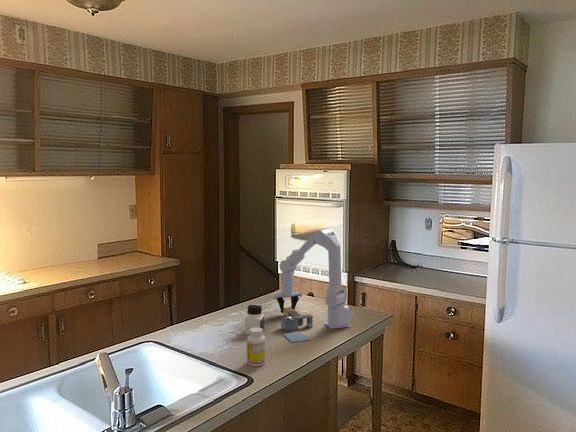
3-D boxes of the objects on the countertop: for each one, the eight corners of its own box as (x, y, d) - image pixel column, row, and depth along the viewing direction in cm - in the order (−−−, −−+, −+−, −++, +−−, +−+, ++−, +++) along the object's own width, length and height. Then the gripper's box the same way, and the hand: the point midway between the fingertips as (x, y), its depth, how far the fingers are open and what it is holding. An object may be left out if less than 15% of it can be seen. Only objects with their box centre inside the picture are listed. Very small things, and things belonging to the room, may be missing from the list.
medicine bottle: (260, 335, 205) (260, 308, 204) (244, 334, 207) (244, 307, 205) (264, 330, 212) (264, 303, 211) (248, 328, 214) (248, 302, 212)
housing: (309, 324, 220) (309, 312, 219) (313, 328, 215) (314, 315, 215) (281, 328, 215) (281, 315, 214) (285, 331, 210) (285, 319, 210)
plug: (290, 314, 234) (290, 307, 234) (303, 324, 220) (303, 316, 220) (283, 315, 233) (284, 308, 233) (295, 325, 219) (295, 317, 219)
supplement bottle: (247, 359, 181) (247, 326, 179) (264, 359, 181) (265, 326, 180) (247, 367, 174) (247, 332, 173) (265, 366, 175) (265, 332, 173)
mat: (300, 332, 210) (300, 331, 210) (309, 340, 200) (309, 339, 200) (282, 334, 207) (283, 333, 207) (291, 343, 198) (291, 342, 198)
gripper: (298, 281, 238) (298, 308, 240) (270, 283, 233) (270, 311, 235) (304, 284, 232) (303, 312, 233) (275, 287, 227) (275, 315, 228)
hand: (287, 311), depth 233 cm, fingers open, 5 cm apart
